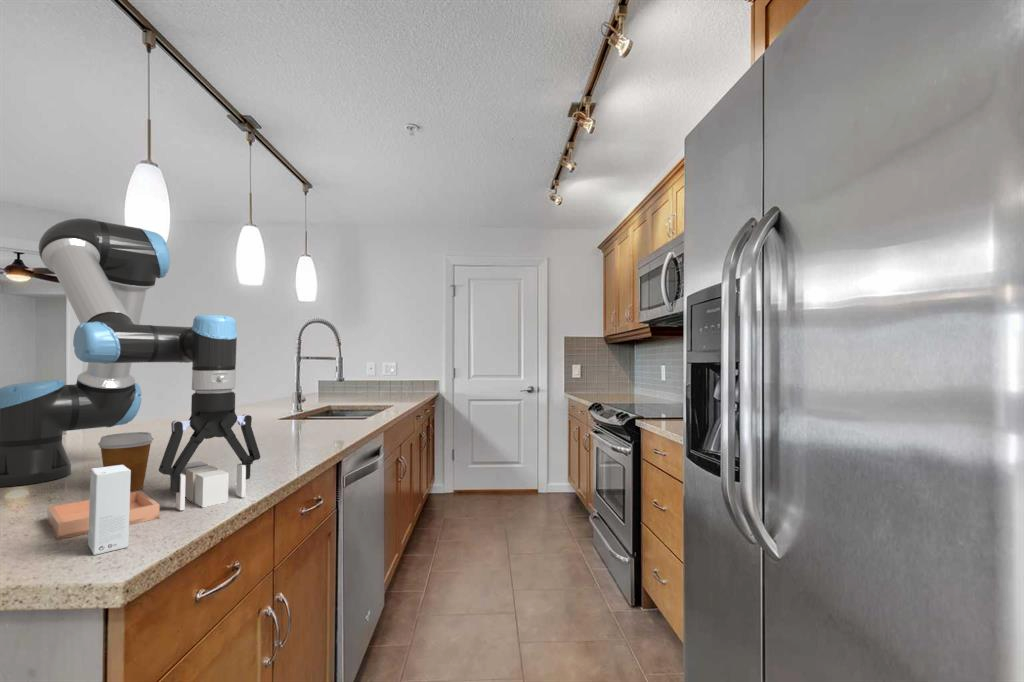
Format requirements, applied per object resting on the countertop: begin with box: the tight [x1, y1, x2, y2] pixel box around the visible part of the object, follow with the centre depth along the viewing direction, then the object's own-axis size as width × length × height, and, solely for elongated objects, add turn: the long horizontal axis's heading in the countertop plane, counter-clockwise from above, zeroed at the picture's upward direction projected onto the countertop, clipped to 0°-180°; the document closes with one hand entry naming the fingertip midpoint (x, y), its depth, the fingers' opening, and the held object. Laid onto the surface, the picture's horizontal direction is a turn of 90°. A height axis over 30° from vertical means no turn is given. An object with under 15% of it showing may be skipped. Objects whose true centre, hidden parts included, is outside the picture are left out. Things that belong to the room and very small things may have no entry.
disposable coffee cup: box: [97, 431, 154, 492], centre depth 104 cm, size 10×10×12 cm
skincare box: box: [87, 465, 131, 556], centre depth 74 cm, size 6×4×12 cm
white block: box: [194, 469, 230, 508], centre depth 95 cm, size 4×4×6 cm
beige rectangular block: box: [185, 464, 219, 502], centre depth 99 cm, size 4×4×6 cm
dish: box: [46, 490, 160, 541], centre depth 85 cm, size 13×13×2 cm
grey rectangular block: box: [182, 461, 209, 489], centre depth 103 cm, size 4×4×6 cm
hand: (211, 502), depth 95 cm, fingers open, 10 cm apart
